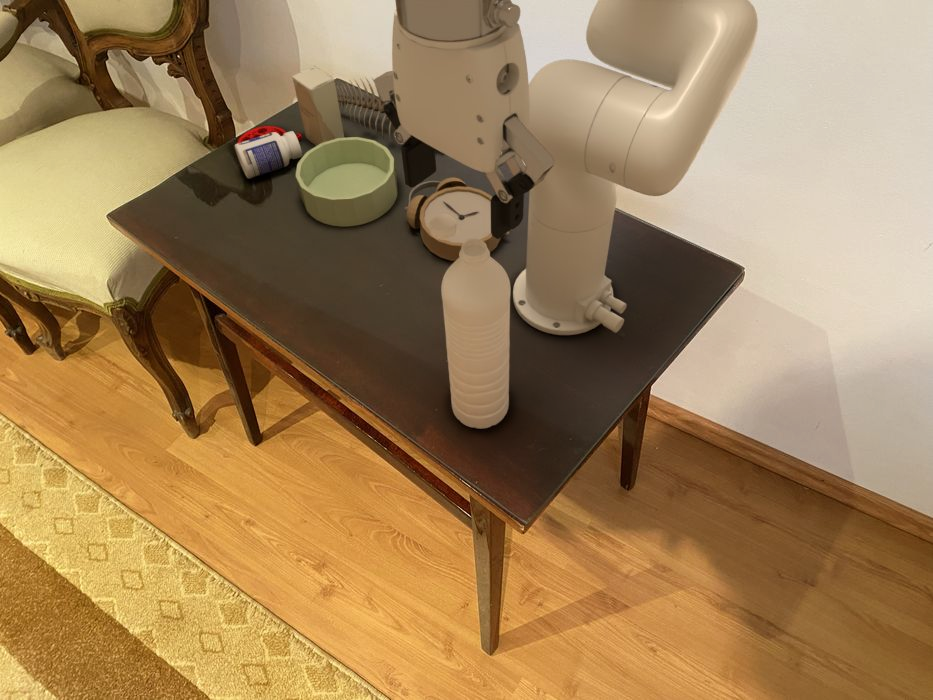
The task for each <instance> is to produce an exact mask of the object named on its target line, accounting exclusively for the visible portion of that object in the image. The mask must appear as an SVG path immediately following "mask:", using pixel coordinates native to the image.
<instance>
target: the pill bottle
mask: <svg viewBox="0 0 933 700" xmlns="http://www.w3.org/2000/svg"><path fill="white" fill-rule="evenodd" d="M295 134H296V133H295V132H294V131H293V130H291V131H287V132H286V133H284V135H283V134H282V135H281V136H280V135H279V134H278V133H276V132H273V133H269V134H266V135H263V136H260V137H256V138H253V139H250V140H248V139H247V141H244V142H240V143H238V142H237V143H235V144H234V150H235V154H236V156H237V159H238V161H239V164H240V167H241V169H242V171H243V173H244V175H245V177H246V178H247V179H253V178H257V177H259V176H262V175H266V174H268V173H271V172H274V171H277V170H281V169H283V168H286V167H287V166H289V164H290V160H291V159H292V160H297V159H299V158H302V157H303V151H302V148H301V145H300V144H301V143H300V142H299V140H298V139H297V137H296V135H295Z"/></svg>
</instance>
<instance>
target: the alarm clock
mask: <svg viewBox="0 0 933 700" xmlns="http://www.w3.org/2000/svg"><path fill="white" fill-rule="evenodd" d="M427 188H436V189H435V192H434V193H433V194H431V195H430V196H429V197H428V196H427V195H424V194H418V195H416V194H417V193H419V192H420V191H422V190H425V189H427ZM415 195H416V196H415ZM492 197H493V196H492V195H491V194H489V193H488V192H485V191H484V190H482V189H479V188H475V187H472V186H468V185H467V184H466V183H465V181H464V180H462V179H461V178H458V177H447V178H444V179H442V180H441V181H440V180H427V181H422V182H421V183H419V184H418V185H416V186H415V187H412V189H411V190H410V192H409V195H408V205H407V206H405V207H404V211H405V212H406V221H407V223H408V224H409V226H411V228H413V229H415V230H418V229H420V230H419V232H420V236H421V239H422V243H423V245H424V246H425V247H426V248H427V250H428V251H429V252H431V253H432V254H434V255H436V256H437V257H439V258H441V259H445V260H448V261H451V262H455V261H456V260H457V259H458V258H459V252H460V250H461V247H462V245H463V243H464V242H465V241H467V240H470V239H480V240H482V241H484V242H485V243H486V245H487V248H488V250H489V252H490V253H492V252H493V251H494V250H495V249H496V248H497V247H498V245H499V243H500V241H501V238H502V237H501V238H499V239H496V238H495V237H493V236H492V234H491V198H492ZM439 214H448V215H451V216H452V217H454V218H455V220H456V226H457V231H456V234H455V235H454V236H453V237H451V238H449V239H444V240H441V239H436V238H434V237H433V236H432V235H431V234H430V229H429V222H430V220H431V219H432V218H433V217H434V216H436V215H439ZM503 236H510V231H508V232H507V233H506V234H504V235H503ZM437 237H438V236H437ZM447 237H448V236H447Z"/></svg>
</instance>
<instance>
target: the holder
mask: <svg viewBox="0 0 933 700" xmlns="http://www.w3.org/2000/svg"><path fill="white" fill-rule="evenodd" d="M396 170H397V169H396V161H395V158H394V156H393V154H392V153H391V151H390V150H389V149H388V147H387V146H385V145H383V144H382V143H380V142H378V141H376V140H374V139H369V138H365V137H360V136H352V137H351V136H350V137H345V138H337V139H334V140H330V141H327V142H324V143H321V144H319V145H317V146H316V145H315V146H314V147H313V148H310V150H307V151H306V152H305V153H304V155H302V157H301V159H300V160H298V162H297V164H296V170H295V179H296V184H297V188H298V191H299V194H300V198H301V201H302V203H303V206H304V209H305V210H306V212H307V214H309V215H310V217H312V218H313V219H315V220H316V221H318V222H320V223H322V224H324V225H329V226H333V227H343V228H344V227H355V226H360V225H361V226H362V225H365V224H368V223H370V222H373V221H375V220H377V219H379V218H381V217H382V216H383V215H385V214H387V212H388V211H389V210H391V208H392V207H393V206H394V204H395V202H396V201H397V198H398V192H399V191H398V177H397V171H396Z"/></svg>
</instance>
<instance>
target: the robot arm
mask: <svg viewBox="0 0 933 700" xmlns="http://www.w3.org/2000/svg"><path fill="white" fill-rule="evenodd" d="M393 13H394V15H393V22H392V23H393V24H392V38H391V41H392V42H391V44H392V45H391V60H392V61H391V62H392V70H390V71H386V72H384V73H382V74H380V75H379V76H377V77H376V78H374V81H373V83H374V86H375V89H376V88H377V89H376V91H377V90H378V92H377V94H378V93H379V95H380V97H381V99H382V102H384V103H385V106H384V111H385V113H384V115H385V114H386V115H387V117H386V118H387V119H388V120H389V122H390V121H391V123H392V124H391V126H393V128H394V129H395V131H394V132H393V137H394V140H395V141H396V142H398V143H397V144H398V145H399V146H400V145H401V147H400V151H401V160H402V168H403V175H404V183H405V185H406V186H408V187H409V188H414V187H416V186H417V185H419V184H421V183H423V182H425V180H427V179H428V178H429V177H431V176H432V175H433V174H435V173H436V171H437V161H436V151H438V152H440V153H442V154H444V155H445V156H448V157H449V158H451V159H453V160H455V161H457V162H458V163H461V164H462V165H464V166H466V167H468V168H470V169H472V170H475V171H477V172H481V173H484V175H485V177H486V178H487V179H486V180H487V181H488V182H489V184H490V186H491V187H492V189H493V191H494V193H495V194H494V195H493V196H492V198H491V234H492V236H493V237H495V238H496V239H499V238H502V237H503V236H505V235H504V234H506V233H507V232H510V231H511V230H514V229H516V228H517V227H518V226H519V225H521V223H522V221H523V218H524V205H525V204H524V203H525V194H527V193H528V192H529V193H528V194H529V195H528V213H527V214H528V215H527V217H528V219H527V235H526V236H527V238H526V239H527V241H526V260H525V261H526V262H525V263H526V264H525V268H524V270H522V271H521V272H520V273H519V275H518V276H517V278H515V281H514V285H513V289H512V302H513V306H514V308H515V310H516V312H517V314H518V316H519V317H521V319H522V320H523V321H524V322H525V323H527V324H528V326H529V325H530V327H533V328H534V329H537V330H538V331H541V332H544V333H545V334H552V335H557V336H573V335H579V334H583V333H587V332H589V331H591V330H592V329H595V328H597V327H598V326H599V325H602V326H603V327H604V328H606V329H608V330H610V331H611V332H613V333H614V334H615V333H618V332H619V331H620V330H621V329H622V327H623V325H624V322H625V318H623V317H621V316H619V314H621V315H622V314H623V313H624V312H625V310H626V309H627V306H628V305H627V303H626V302H624V301H622V300H620V299H618V298H616V297H614V289H613V287H612V279H610V278H608V277H607V276H606V275H605V272H606V266H607V261H608V255H609V248H610V242H611V236H612V230H613V224H614V217H615V211H616V206H617V198H618V187H617V185H618V186H620V187H623V188H625V189H628V190H631V191H633V192H635V193H639V194H641V195H645V196H649V197H661V196H664V195H667V194H669V193H670V192H671V191H673V190H674V189H675V188H676V187H677V186H678V185H679V184H680V182H681V181H682V180H683V179H684V177H685V176H686V174H687V173H688V171H689V169H690V168H691V166H692V165H693V163H694V161H695V159H696V158H697V157H698V155H699V153H700V151H701V149H702V147H703V145H704V144H705V142H706V140H707V138H708V136H709V135H710V133H711V131H712V130H713V128H714V126H715V125H716V123H717V121H718V119H719V117H720V115H721V114H722V112H723V110H724V108H725V107H726V105H727V103H728V102H729V100H730V98H731V96H732V94H733V93H734V91H735V89H736V87H737V86H738V83H739V82H740V80H741V78H742V76H743V74H744V72H745V70H746V68H747V66H748V63H749V61H750V59H751V56H752V53H753V50H754V48H755V44H756V41H757V35H758V30H759V20H758V19H759V18H758V14H757V13H758V12H757V11H756V9H755V7H754V5H753V3H752V2H751V1H750V0H597V2H596V4H595V5H594V7H593V10H592V12H591V14H590V17H589V18H588V24H587V26H586V32H585V41H586V45H587V47H588V50H589V51H590V53H591V54H592V55H593V57H595V58H596V59H597V60H598V61H600V62H601V63H603V64H605V65H607V66H609V67H610V68H613V69H615V70H613V69H610V68H607V67H605V66H601V65H599V64H597V63H596V64H595V63H592V62H588V61H584V60H579V59H569V58H568V59H567V58H566V59H565V58H564V59H560V60H555V61H552V62H549V63H547V64H546V65H544V66H542V67H541V68H540V69H539V70H538V71H537V72H536V73H535V74H534V75H533V77H532V79H531V80H530V81H529V71H528V64H527V57H526V51H525V50H526V49H525V45H524V39H523V35H522V31H521V26H520V24H519V23H518V22H519V21H520V17H521V7H520V6H519V5H518V4H515V3H514V2H512V1H511V0H395V10H394V12H393ZM616 70H617V71H616ZM619 71H620V72H619ZM622 72H623V73H622ZM625 73H626V74H625ZM628 74H629V75H628ZM632 76H634V77H637V78H634V77H632ZM638 78H640V79H641V80H640V79H638ZM642 79H643V80H646V81H648V82H646V81H643V80H642ZM649 82H652V83H655V84H657V85H655V84H652V83H649ZM658 85H660V86H663V87H660V86H658ZM664 87H666V88H668V89H666V88H664ZM382 102H381V103H382ZM504 164H506V166H507V168H508V169H509V172H510V173H511V175H512V177H511V178H509V179H508V180H506V178H505V176H504V174H503V172H502V171H501V169H500V167H501V166H502V165H504ZM611 310H613V311H615V313H614V312H613V311H611ZM617 313H618V314H617Z"/></svg>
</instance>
